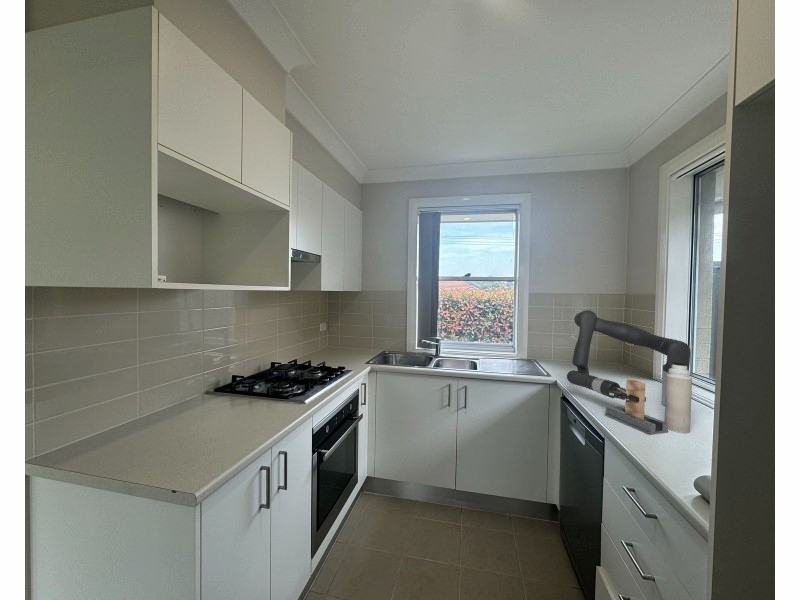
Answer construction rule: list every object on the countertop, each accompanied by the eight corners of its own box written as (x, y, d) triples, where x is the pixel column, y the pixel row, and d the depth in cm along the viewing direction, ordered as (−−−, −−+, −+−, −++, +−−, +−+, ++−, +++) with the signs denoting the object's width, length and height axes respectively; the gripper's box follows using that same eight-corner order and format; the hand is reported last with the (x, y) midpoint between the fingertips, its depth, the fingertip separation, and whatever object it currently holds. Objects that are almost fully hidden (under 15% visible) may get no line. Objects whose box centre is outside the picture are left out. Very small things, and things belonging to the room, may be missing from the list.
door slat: (625, 415, 138) (626, 379, 137) (630, 415, 139) (631, 379, 138) (638, 421, 132) (640, 383, 131) (643, 420, 133) (645, 383, 132)
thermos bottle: (687, 427, 132) (689, 361, 131) (692, 435, 125) (695, 365, 124) (662, 423, 136) (665, 359, 135) (666, 430, 129) (668, 362, 128)
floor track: (604, 415, 144) (604, 406, 144) (621, 413, 146) (621, 405, 146) (649, 435, 124) (649, 425, 124) (668, 432, 127) (668, 422, 127)
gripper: (594, 380, 147) (629, 392, 130) (617, 378, 150) (655, 389, 134) (593, 396, 147) (628, 410, 130) (617, 394, 151) (654, 407, 134)
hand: (641, 399), depth 132 cm, fingers closed on door slat, 3 cm apart
